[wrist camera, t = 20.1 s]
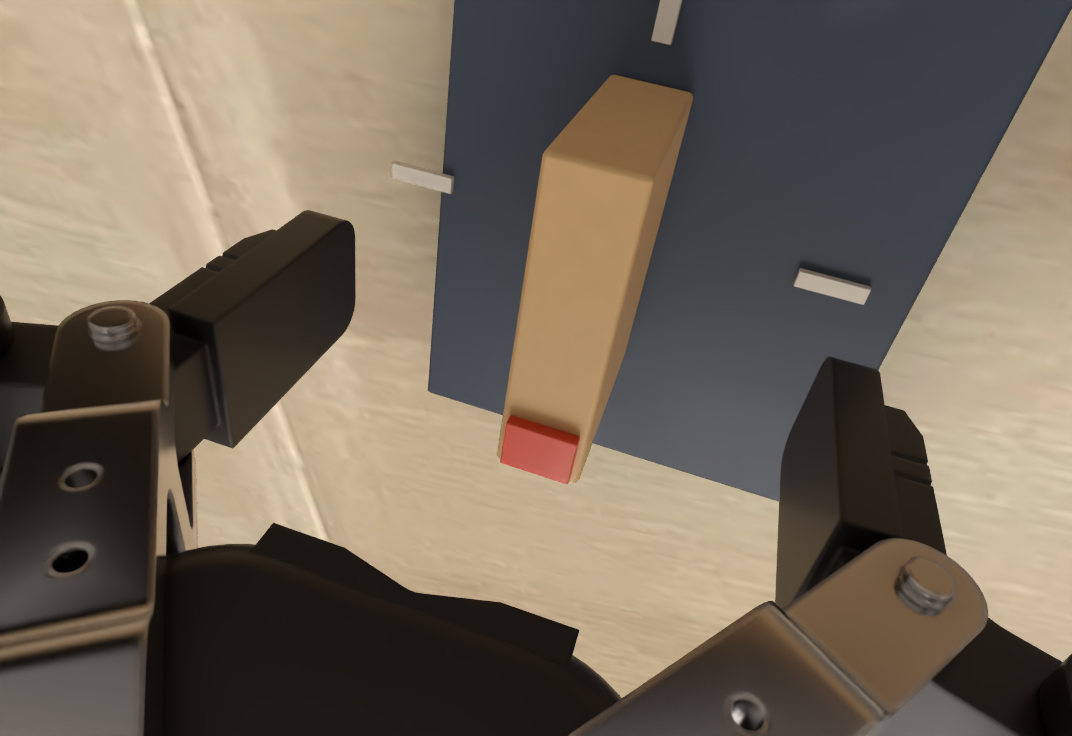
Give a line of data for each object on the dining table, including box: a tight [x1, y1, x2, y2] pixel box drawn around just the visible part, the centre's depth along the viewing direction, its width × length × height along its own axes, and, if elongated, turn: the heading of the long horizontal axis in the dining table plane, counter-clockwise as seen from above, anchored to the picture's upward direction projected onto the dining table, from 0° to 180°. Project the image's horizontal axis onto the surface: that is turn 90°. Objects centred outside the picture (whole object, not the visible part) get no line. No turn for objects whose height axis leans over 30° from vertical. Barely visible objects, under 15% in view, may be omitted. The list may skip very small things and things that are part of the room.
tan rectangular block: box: [497, 75, 693, 484], centre depth 14 cm, size 6×2×5 cm, turn 172°
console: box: [391, 0, 1072, 501], centre depth 16 cm, size 12×11×3 cm
